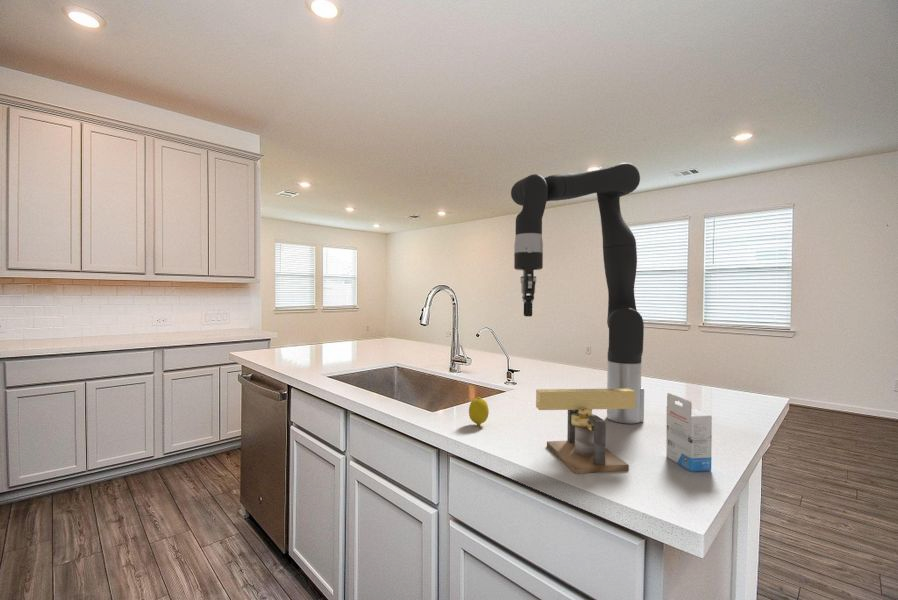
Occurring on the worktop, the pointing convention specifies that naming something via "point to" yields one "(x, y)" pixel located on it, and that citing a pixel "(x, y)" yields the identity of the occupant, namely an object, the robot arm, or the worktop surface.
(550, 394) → the yellow long bar
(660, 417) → the worktop surface
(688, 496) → the worktop surface
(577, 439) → the base
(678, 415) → the ink box
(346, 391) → the worktop surface
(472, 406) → the lemon
